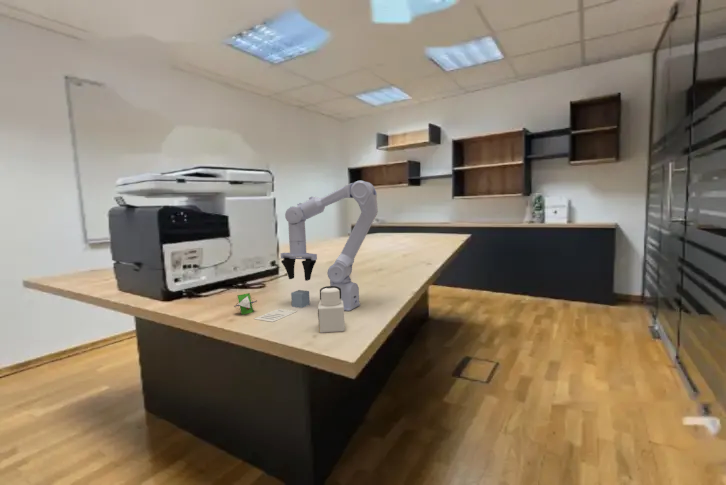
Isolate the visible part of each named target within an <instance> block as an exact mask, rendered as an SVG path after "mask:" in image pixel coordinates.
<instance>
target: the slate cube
mask: <svg viewBox="0 0 726 485" xmlns="http://www.w3.org/2000/svg"><path fill="white" fill-rule="evenodd" d="M290 296H291V307H293V308H294V307H295V308H301V309H303V308H305V307H308V306H309V305H311V302H310V290H301V289H298V290H296V291H292V292H291V293H290Z"/></svg>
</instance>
